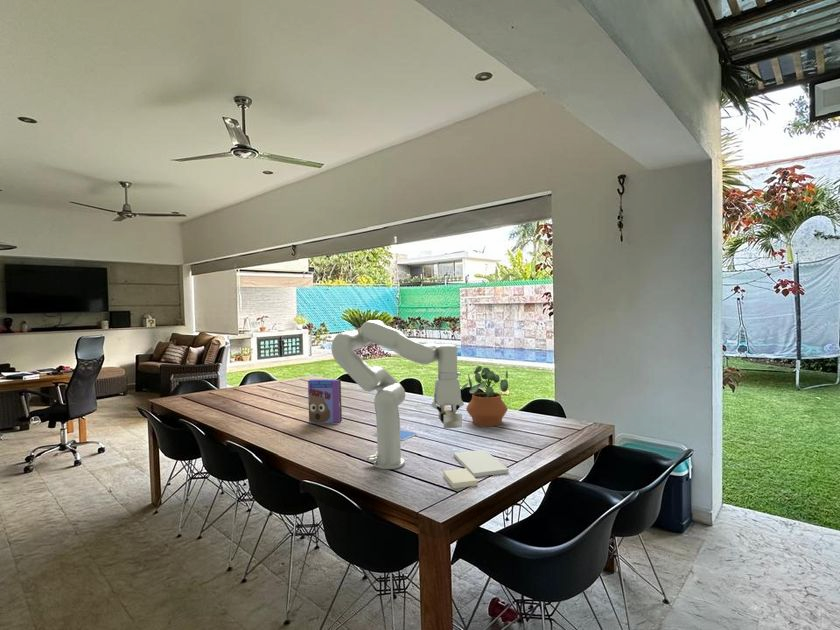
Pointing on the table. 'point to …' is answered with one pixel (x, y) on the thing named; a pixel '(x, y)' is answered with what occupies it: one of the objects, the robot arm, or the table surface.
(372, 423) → the table surface
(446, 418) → the beige upright post
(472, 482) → the tile
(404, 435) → the tablet computer
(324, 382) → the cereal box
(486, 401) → the potted plant
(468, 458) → the white rectangular board
